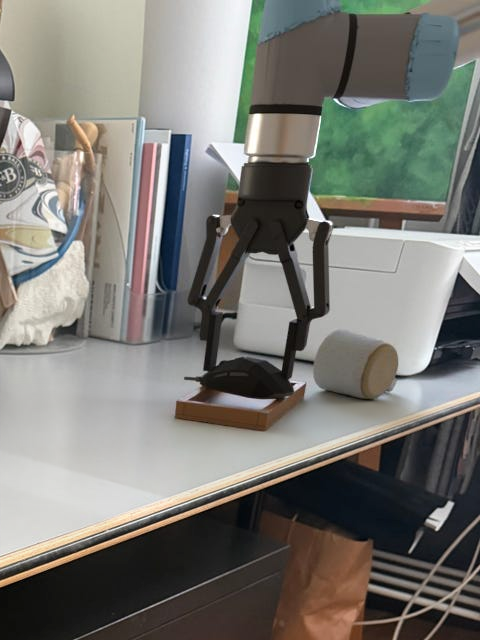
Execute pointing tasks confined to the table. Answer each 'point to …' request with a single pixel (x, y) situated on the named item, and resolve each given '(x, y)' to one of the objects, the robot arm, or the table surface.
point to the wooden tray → (236, 408)
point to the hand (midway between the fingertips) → (247, 373)
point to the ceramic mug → (355, 365)
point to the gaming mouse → (246, 379)
